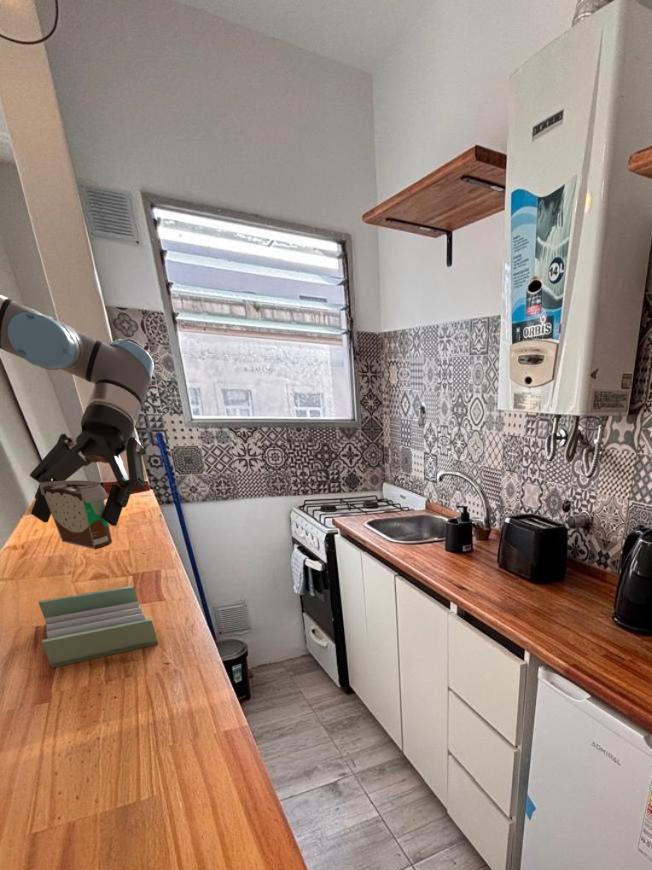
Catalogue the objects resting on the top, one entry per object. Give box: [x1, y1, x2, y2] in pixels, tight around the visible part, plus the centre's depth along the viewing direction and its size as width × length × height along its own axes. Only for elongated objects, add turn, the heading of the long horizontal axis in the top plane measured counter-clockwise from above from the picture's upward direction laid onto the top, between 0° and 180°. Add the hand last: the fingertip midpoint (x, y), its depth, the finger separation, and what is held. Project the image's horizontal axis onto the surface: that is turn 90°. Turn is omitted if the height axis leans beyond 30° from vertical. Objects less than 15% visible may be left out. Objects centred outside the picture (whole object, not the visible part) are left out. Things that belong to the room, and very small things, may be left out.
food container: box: [39, 479, 113, 550], centre depth 89 cm, size 12×6×10 cm, turn 65°
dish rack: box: [38, 585, 159, 669], centre depth 80 cm, size 18×13×4 cm
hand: (74, 520), depth 88 cm, fingers closed on food container, 11 cm apart
